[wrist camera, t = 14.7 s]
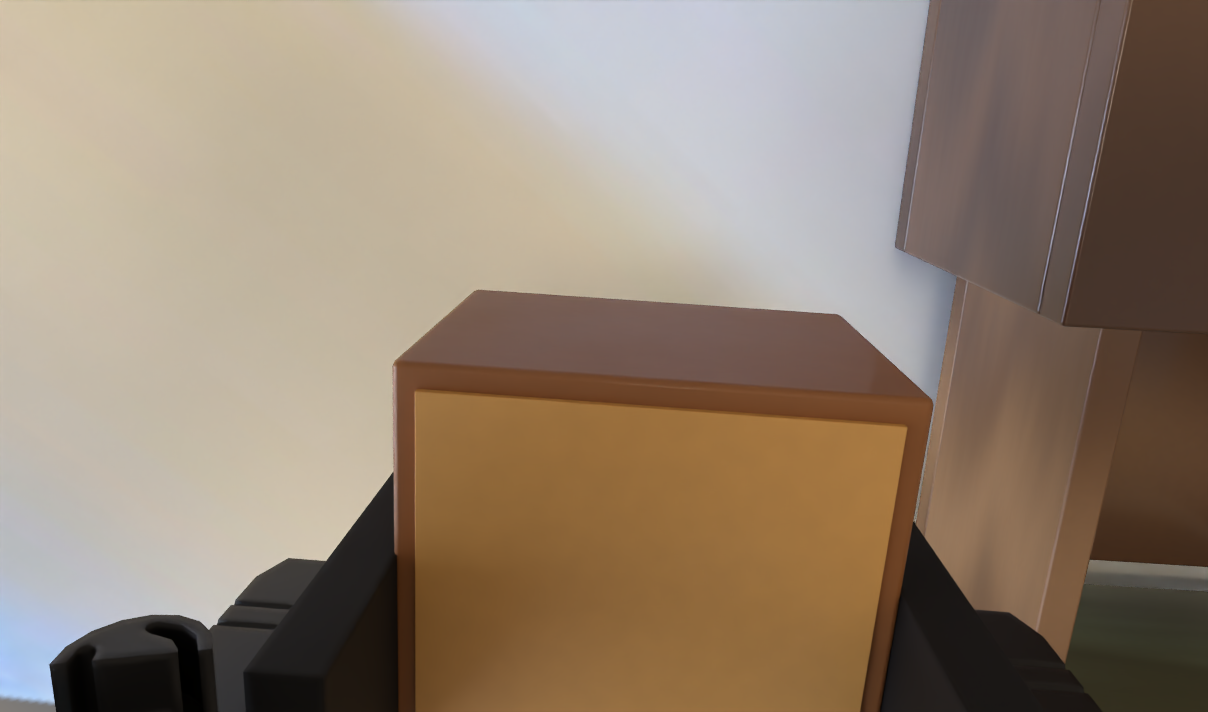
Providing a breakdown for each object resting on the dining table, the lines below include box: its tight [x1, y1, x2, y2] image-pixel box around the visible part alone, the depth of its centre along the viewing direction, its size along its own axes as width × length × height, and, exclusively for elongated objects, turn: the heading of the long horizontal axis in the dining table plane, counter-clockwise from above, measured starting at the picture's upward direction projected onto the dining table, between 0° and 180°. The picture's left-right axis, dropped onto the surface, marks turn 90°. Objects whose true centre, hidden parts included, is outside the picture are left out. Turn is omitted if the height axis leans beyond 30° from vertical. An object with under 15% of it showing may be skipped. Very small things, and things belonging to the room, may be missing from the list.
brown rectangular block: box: [393, 290, 933, 712], centre depth 12 cm, size 8×6×5 cm
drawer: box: [916, 277, 1208, 712], centre depth 20 cm, size 23×13×8 cm, turn 177°
